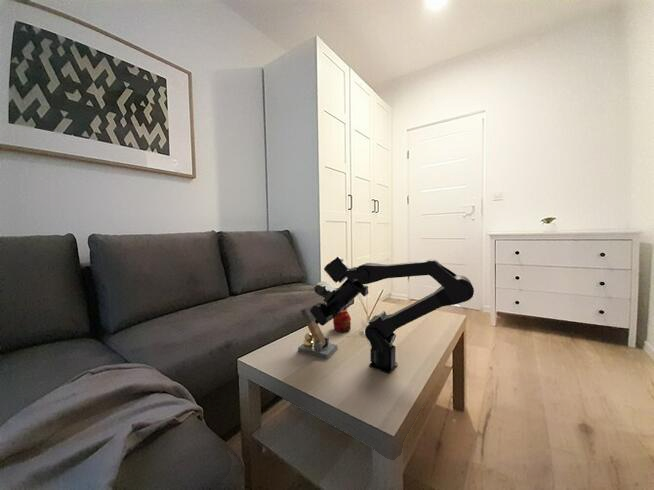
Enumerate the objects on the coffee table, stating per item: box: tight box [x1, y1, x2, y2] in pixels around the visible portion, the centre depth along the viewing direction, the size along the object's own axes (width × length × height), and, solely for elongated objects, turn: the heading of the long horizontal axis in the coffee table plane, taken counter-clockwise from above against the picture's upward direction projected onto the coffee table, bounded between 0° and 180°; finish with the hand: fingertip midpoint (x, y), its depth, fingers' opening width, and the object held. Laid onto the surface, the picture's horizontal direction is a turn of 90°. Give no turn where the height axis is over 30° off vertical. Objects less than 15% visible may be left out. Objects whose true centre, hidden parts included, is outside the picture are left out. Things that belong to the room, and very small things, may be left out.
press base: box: [297, 332, 338, 360], centre depth 85 cm, size 11×8×5 cm
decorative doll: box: [332, 308, 352, 333], centre depth 103 cm, size 8×7×15 cm
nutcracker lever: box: [300, 306, 326, 347], centre depth 85 cm, size 2×3×14 cm, turn 152°
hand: (316, 322), depth 85 cm, fingers closed
